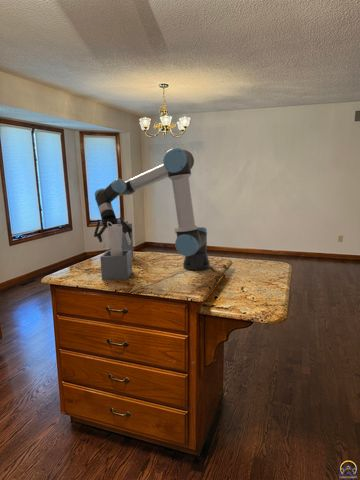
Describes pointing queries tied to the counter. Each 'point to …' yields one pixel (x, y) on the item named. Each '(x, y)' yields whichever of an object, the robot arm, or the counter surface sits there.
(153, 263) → the counter surface
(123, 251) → the grey open box
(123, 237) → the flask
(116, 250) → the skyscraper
